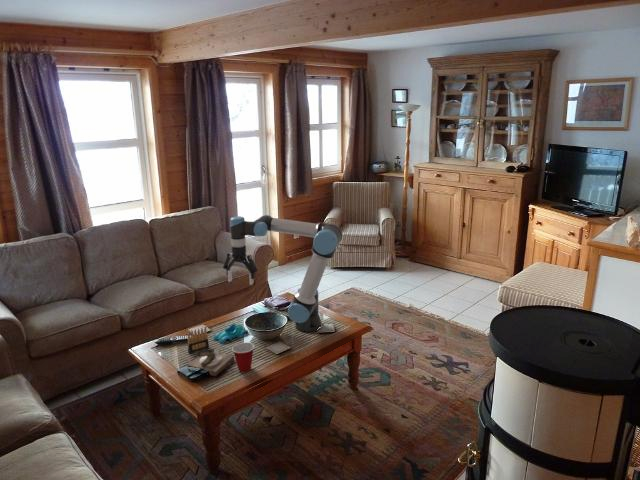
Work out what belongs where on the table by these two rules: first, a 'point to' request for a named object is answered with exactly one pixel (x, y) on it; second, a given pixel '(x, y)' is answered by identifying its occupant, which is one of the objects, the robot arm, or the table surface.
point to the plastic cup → (243, 356)
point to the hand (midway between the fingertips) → (240, 282)
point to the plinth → (213, 363)
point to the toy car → (230, 333)
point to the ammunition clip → (197, 341)
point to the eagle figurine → (208, 355)
